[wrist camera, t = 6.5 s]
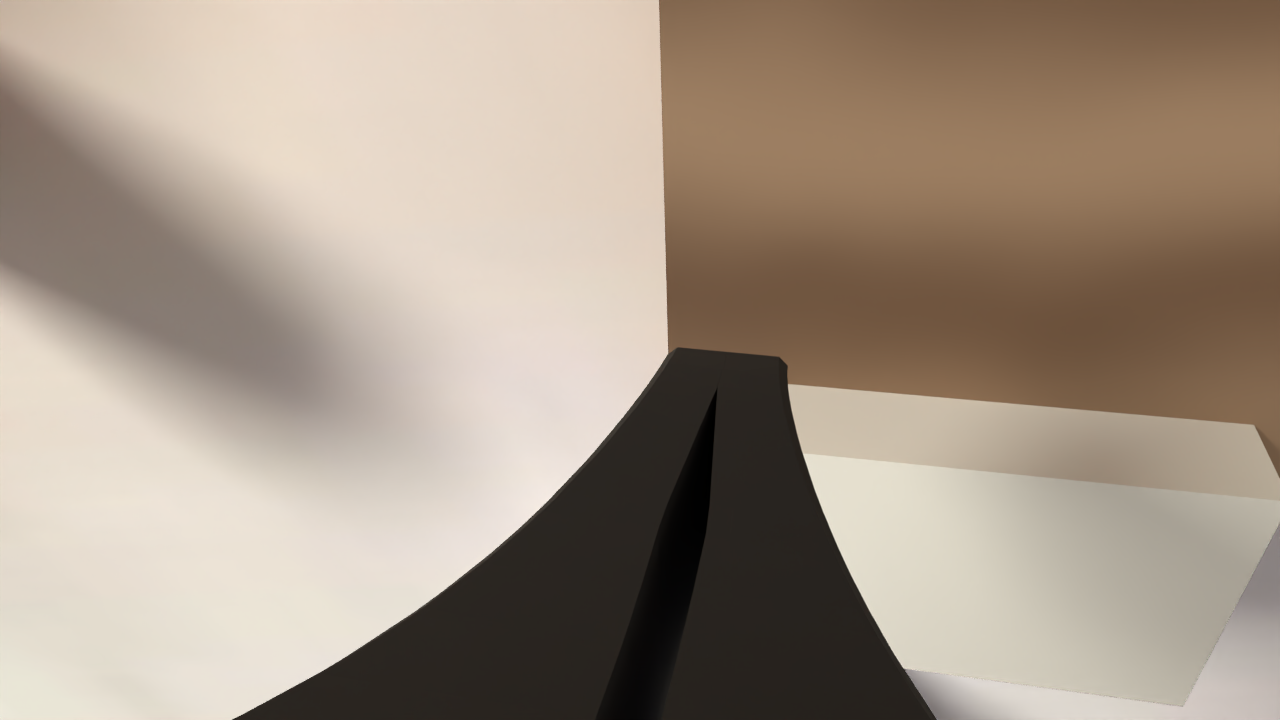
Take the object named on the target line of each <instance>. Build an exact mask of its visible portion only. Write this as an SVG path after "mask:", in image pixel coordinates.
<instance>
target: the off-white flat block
mask: <svg viewBox="0 0 1280 720" xmlns="http://www.w3.org/2000/svg"><path fill="white" fill-rule="evenodd" d="M788 390H789V398H790V403H791V409H792V414H793V418H794V422H795V427H796V431H797V435H798V439H799V442H800V446H801V449H802V452H803V455H804V459H805V462H806V465H807V468H808V471H809V474H810V477H811V480H812V483H813V486H814V489H815V492H816V494H817V497H818V499H819V502H820V505H821V507H822V510H823V513H824V515H825V517H826V520H827V522H828V525H829V527H830V529H831V532H832V534H833V537H834V539H835V541H836V544H837V546H838V548H839V550H840V552H841V555H842V557H843V559H844V561H845V563H846V565H847V567H848V570H849V572H850V574H851V576H852V578H853V580H854V582H855V584H856V586H857V588H858V590H859V591H860V593H861V595H862V597H863V599H864V601H865V603H866V605H867V607H868V609H869V611H870V613H871V614H872V616H873V618H874V620H875V621H876V623H877V625H878V627H879V628H880V630H881V632H882V634H883V636H884V637H885V639H886V641H887V643H888V644H889V646H890V648H891V650H892V651H893V653H894V655H895V656H896V658H897V659H898V661H899V662H900V664H901V665H902V667H903V668H904V669H910V670H917V671H925V672H932V673H939V674H947V675H954V676H962V677H969V678H976V679H984V680H991V681H998V682H1006V683H1013V684H1020V685H1028V686H1035V687H1042V688H1050V689H1057V690H1065V691H1072V692H1079V693H1087V694H1094V695H1101V696H1109V697H1116V698H1123V699H1131V700H1138V701H1145V702H1153V703H1160V704H1167V705H1175V706H1182V707H1183V705H1184V704H1185V702H1186V700H1187V698H1188V696H1189V694H1190V692H1191V690H1192V688H1193V687H1194V685H1195V683H1196V681H1197V679H1198V677H1199V675H1200V673H1201V671H1202V669H1203V668H1204V666H1205V664H1206V662H1207V660H1208V658H1209V656H1210V654H1211V652H1212V650H1213V649H1214V647H1215V645H1216V643H1217V641H1218V639H1219V637H1220V635H1221V633H1222V632H1223V630H1224V628H1225V626H1226V624H1227V622H1228V620H1229V618H1230V616H1231V614H1232V613H1233V611H1234V609H1235V607H1236V605H1237V603H1238V601H1239V599H1240V597H1241V595H1242V594H1243V592H1244V590H1245V588H1246V586H1247V584H1248V582H1249V580H1250V578H1251V577H1252V575H1253V573H1254V571H1255V569H1256V567H1257V565H1258V563H1259V561H1260V559H1261V558H1262V556H1263V554H1264V552H1265V550H1266V548H1267V546H1268V544H1269V542H1270V541H1271V539H1272V537H1273V535H1274V533H1275V531H1276V529H1277V527H1278V525H1279V523H1280V478H1279V476H1278V474H1277V472H1276V470H1275V468H1274V466H1273V463H1272V461H1271V459H1270V457H1269V455H1268V453H1267V451H1266V449H1265V447H1264V445H1263V443H1262V440H1261V438H1260V436H1259V434H1258V432H1257V430H1256V428H1255V426H1254V425H1250V424H1239V423H1227V422H1216V421H1205V420H1193V419H1182V418H1170V417H1159V416H1147V415H1136V414H1125V413H1113V412H1102V411H1090V410H1079V409H1067V408H1056V407H1045V406H1033V405H1022V404H1010V403H999V402H987V401H976V400H965V399H953V398H942V397H930V396H919V395H907V394H896V393H885V392H873V391H862V390H850V389H839V388H827V387H816V386H805V385H793V384H788Z"/></svg>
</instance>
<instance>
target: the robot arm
mask: <svg viewBox="0 0 1280 720" xmlns="http://www.w3.org/2000/svg"><path fill="white" fill-rule="evenodd" d="M787 370H788V365H787V364H786V363H785V362H784V361H783V360H782V359H781V358H780V357H777V356H767V355H756V354H745V353H735V352H724V351H713V350H703V349H692V348H681V347H677V348H676V349H674V350H673V351H672V352H670V353H669V354H668V355H667V357H666V358H665V360H664V361H663V363H662V365H661V366H660V368H659V369H658V371H657V372H656V374H655V375H654V377H653V378H652V380H651V381H650V382H649V384H648V385H647V387H646V388H645V389H644V391H643V392H642V393H641V395H640V396H639V397H638V399H637V400H636V401H635V403H634V404H633V405H632V407H631V408H630V409H629V410H628V412H627V413H626V414H625V416H624V417H623V418H622V419H621V420H620V422H619V423H618V424H617V425H616V426H615V428H614V429H613V430H612V431H611V432H610V434H609V435H608V436H607V437H606V438H605V440H604V441H603V442H602V443H601V444H600V446H599V447H598V448H597V449H596V450H595V452H594V453H593V454H592V455H591V456H590V457H589V458H588V460H587V461H586V462H585V463H584V464H583V465H582V466H581V467H580V468H579V469H578V470H577V471H576V472H575V473H574V474H573V475H572V476H571V478H570V479H569V480H568V481H567V482H566V483H565V484H564V485H563V486H562V487H561V488H560V489H559V490H558V491H557V492H556V493H555V494H554V495H553V496H552V498H551V499H550V500H549V501H548V502H547V503H546V504H545V505H544V506H543V507H541V508H540V509H539V510H538V511H537V512H536V513H535V514H534V515H533V516H532V517H531V518H530V519H529V520H528V521H527V522H526V523H525V524H524V525H522V526H521V527H520V528H519V529H518V530H517V531H516V532H515V533H514V534H512V535H511V536H510V537H509V538H508V539H507V540H506V541H504V542H503V543H502V544H501V545H500V546H499V547H498V548H496V549H495V550H494V551H493V552H492V553H491V554H489V555H488V556H487V557H486V558H485V559H483V560H482V561H481V562H480V563H478V564H477V565H476V566H475V567H473V568H472V569H471V570H469V571H468V572H467V573H466V574H464V575H463V576H462V577H461V578H459V579H458V580H457V581H455V582H454V583H453V584H452V585H450V586H449V587H448V588H447V589H445V590H444V591H443V592H441V593H440V594H439V595H437V596H436V597H435V598H433V599H432V600H430V601H429V602H428V603H426V604H425V605H424V606H422V607H421V608H419V609H418V610H417V611H415V612H414V613H412V614H411V615H409V616H408V617H406V618H405V619H403V620H402V621H400V622H399V623H397V624H396V625H394V626H393V627H391V628H389V629H388V630H386V631H385V632H383V633H382V634H380V635H379V636H377V637H376V638H374V639H373V640H371V641H370V642H368V643H367V644H365V645H363V646H362V647H360V648H359V649H357V650H356V651H354V652H353V653H351V654H350V655H348V656H347V657H345V658H343V659H342V660H340V661H339V662H337V663H335V664H334V665H332V666H330V667H329V668H327V669H325V670H324V671H322V672H320V673H318V674H317V675H315V676H313V677H311V678H309V679H307V680H305V681H304V682H302V683H300V684H298V685H296V686H294V687H293V688H291V689H289V690H287V691H285V692H283V693H282V694H280V695H278V696H276V697H274V698H272V699H270V700H269V701H267V702H265V703H263V704H261V705H259V706H258V707H256V708H254V709H252V710H250V711H248V712H246V713H245V714H243V715H241V716H239V717H237V718H235V719H233V720H937V719H936V718H935V716H934V715H933V713H932V712H931V710H930V709H929V707H928V705H927V704H926V702H925V701H924V699H923V698H922V696H921V695H920V693H919V692H918V690H917V689H916V687H915V685H914V684H913V682H912V681H911V679H910V678H909V676H908V675H907V673H906V672H905V670H904V668H903V667H902V665H901V664H900V662H899V661H898V659H897V658H896V656H895V655H894V653H893V651H892V650H891V648H890V646H889V644H888V643H887V641H886V639H885V637H884V636H883V634H882V632H881V630H880V628H879V627H878V625H877V623H876V621H875V620H874V618H873V616H872V614H871V613H870V611H869V609H868V607H867V605H866V603H865V601H864V599H863V597H862V595H861V593H860V591H859V590H858V588H857V586H856V584H855V582H854V580H853V578H852V576H851V574H850V572H849V570H848V567H847V565H846V563H845V561H844V559H843V557H842V555H841V552H840V550H839V548H838V546H837V544H836V541H835V539H834V537H833V534H832V532H831V529H830V527H829V525H828V522H827V520H826V517H825V515H824V513H823V510H822V507H821V505H820V502H819V499H818V497H817V494H816V492H815V489H814V486H813V483H812V480H811V477H810V474H809V471H808V468H807V465H806V462H805V459H804V455H803V452H802V449H801V446H800V442H799V439H798V435H797V431H796V427H795V422H794V418H793V414H792V409H791V403H790V398H789V390H788V378H787Z"/></svg>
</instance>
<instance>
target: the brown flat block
mask: <svg viewBox="0 0 1280 720" xmlns="http://www.w3.org/2000/svg"><path fill="white" fill-rule="evenodd" d="M659 12H660V50H661V88H662V127H663V165H664V203H665V242H666V280H667V319H668V354H669V353H670V352H672V351H673V350H674V349H676V348H677V347H681V348H692V349H703V350H713V351H724V352H735V353H745V354H756V355H767V356H777V357H780V358H781V359H782V360H783V361H784V362H785V363H786V364H787V365H788V370H787V378H788V384H793V385H805V386H816V387H827V388H839V389H850V390H862V391H873V392H885V393H896V394H907V395H919V396H930V397H942V398H953V399H965V400H976V401H987V402H999V403H1010V404H1022V405H1033V406H1045V407H1056V408H1067V409H1079V410H1090V411H1102V412H1113V413H1125V414H1136V415H1147V416H1159V417H1170V418H1182V419H1193V420H1205V421H1216V422H1227V423H1239V424H1250V425H1254V426H1255V428H1256V430H1257V432H1258V434H1259V436H1260V438H1261V440H1262V443H1263V445H1264V447H1265V449H1266V451H1267V453H1268V455H1269V457H1270V459H1271V461H1272V463H1273V466H1274V468H1275V470H1276V472H1277V474H1278V476H1279V478H1280V0H659Z"/></svg>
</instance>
